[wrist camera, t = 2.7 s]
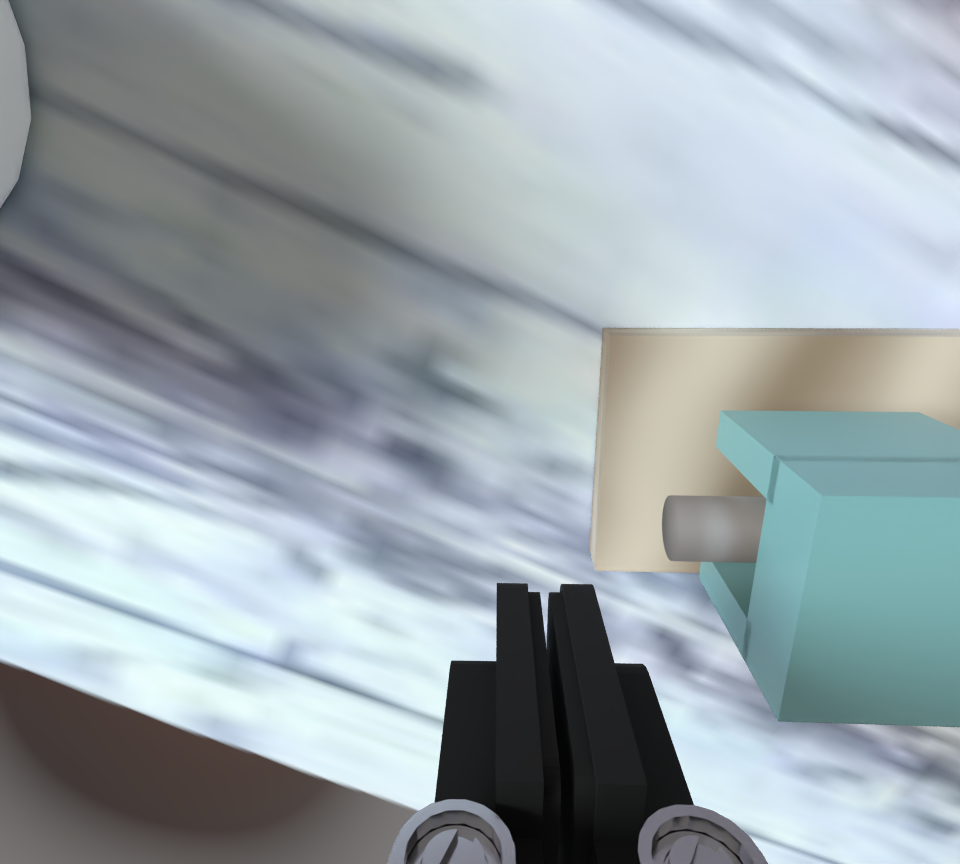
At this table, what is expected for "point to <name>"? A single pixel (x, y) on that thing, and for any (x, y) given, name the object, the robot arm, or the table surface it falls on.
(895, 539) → the sleeve
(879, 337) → the wooden slide rail
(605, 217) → the table surface
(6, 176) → the white jar
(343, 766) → the table surface
